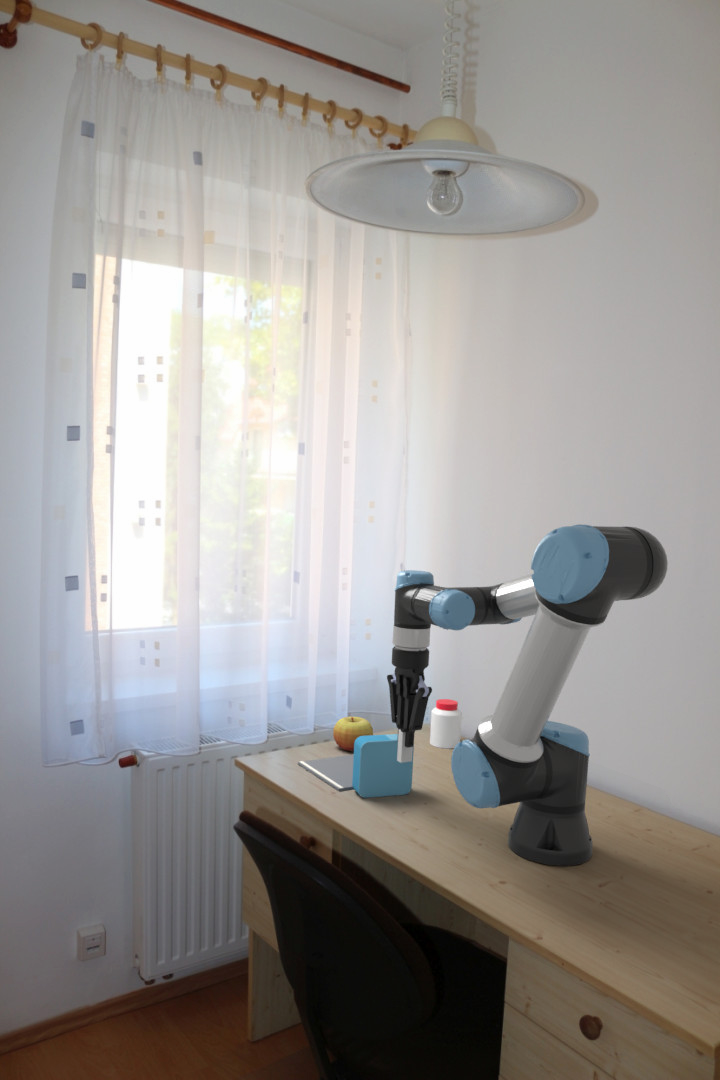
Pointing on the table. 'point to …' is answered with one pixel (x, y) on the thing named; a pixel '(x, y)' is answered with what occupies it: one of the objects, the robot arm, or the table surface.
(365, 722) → the apple
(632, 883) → the table surface
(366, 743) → the light blue flat block
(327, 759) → the mat
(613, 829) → the table surface
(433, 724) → the pill bottle
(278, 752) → the table surface
